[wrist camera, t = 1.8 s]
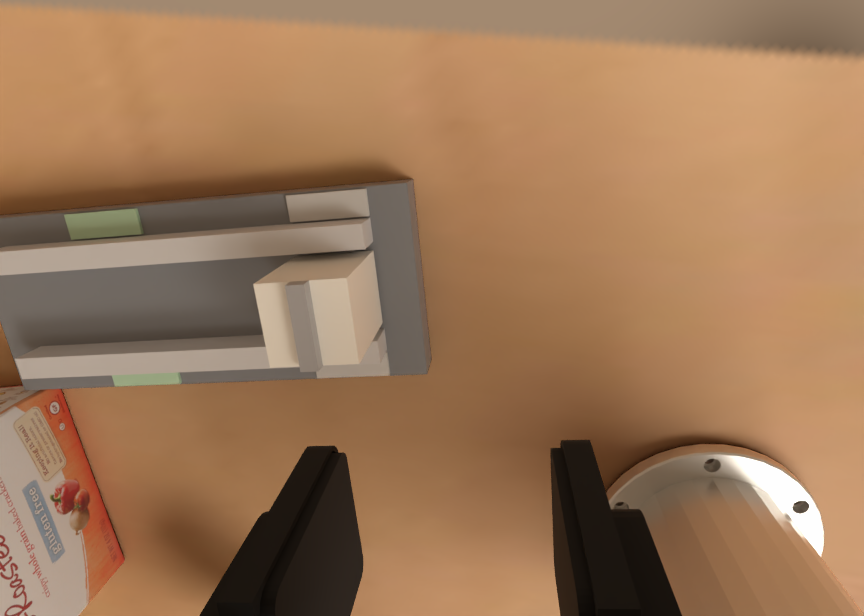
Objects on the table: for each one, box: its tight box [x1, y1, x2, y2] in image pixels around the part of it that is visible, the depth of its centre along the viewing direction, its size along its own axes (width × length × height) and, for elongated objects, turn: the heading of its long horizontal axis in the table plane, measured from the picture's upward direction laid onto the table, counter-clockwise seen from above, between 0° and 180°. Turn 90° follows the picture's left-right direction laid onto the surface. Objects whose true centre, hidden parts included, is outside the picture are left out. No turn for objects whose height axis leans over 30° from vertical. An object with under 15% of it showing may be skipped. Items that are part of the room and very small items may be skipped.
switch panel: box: [0, 179, 431, 390], centre depth 29 cm, size 10×24×4 cm, turn 96°
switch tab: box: [253, 250, 383, 372], centre depth 25 cm, size 4×4×6 cm
